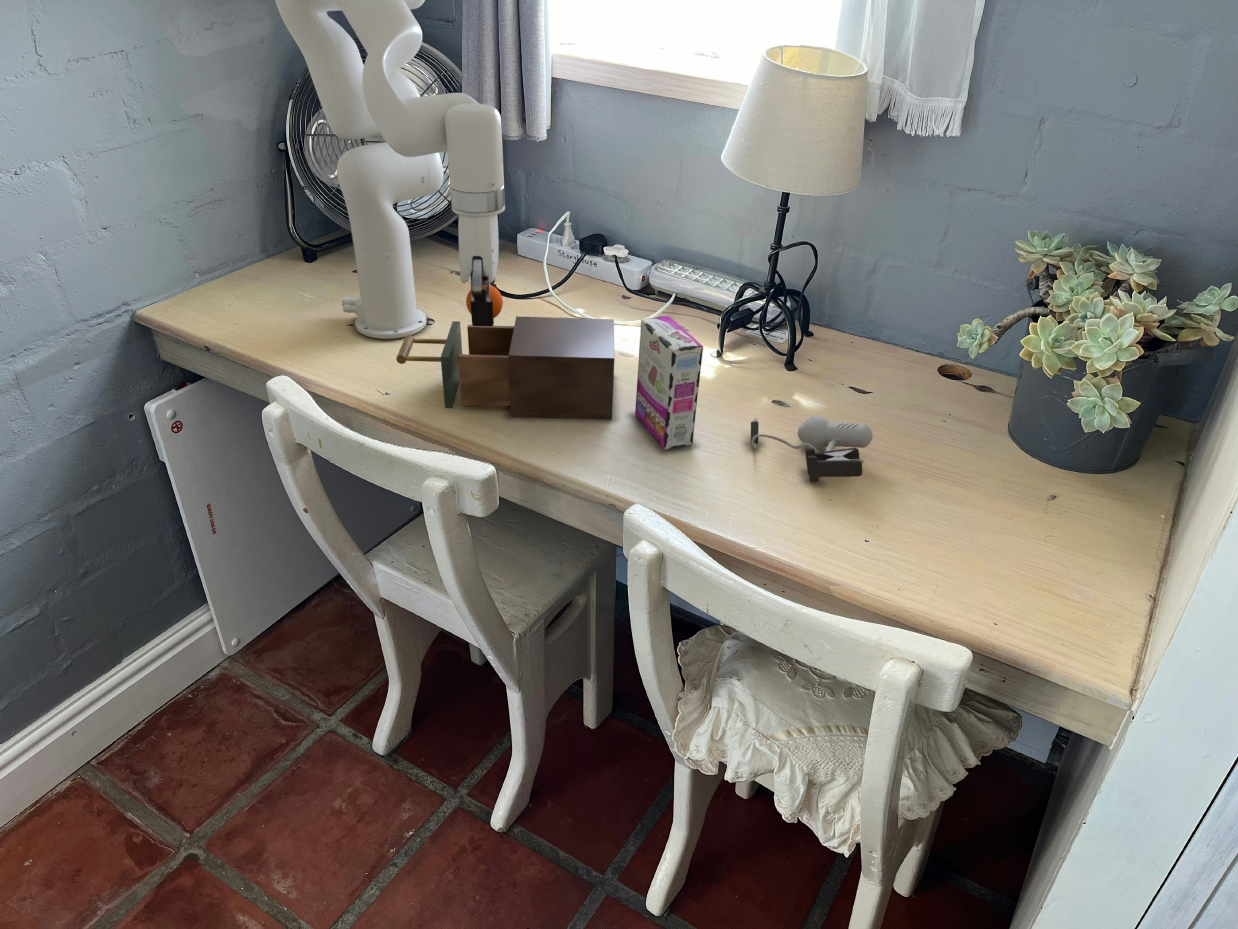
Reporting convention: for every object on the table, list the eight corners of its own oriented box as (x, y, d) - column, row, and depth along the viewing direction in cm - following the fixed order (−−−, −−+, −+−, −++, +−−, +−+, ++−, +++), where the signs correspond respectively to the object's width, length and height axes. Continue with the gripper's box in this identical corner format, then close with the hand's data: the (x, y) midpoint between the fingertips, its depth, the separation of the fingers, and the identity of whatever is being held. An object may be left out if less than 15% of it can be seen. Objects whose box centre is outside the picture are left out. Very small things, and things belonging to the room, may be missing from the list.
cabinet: (510, 417, 134) (508, 355, 128) (517, 374, 145) (516, 316, 139) (612, 419, 135) (614, 358, 129) (611, 377, 146) (613, 319, 140)
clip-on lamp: (736, 478, 128) (861, 489, 120) (731, 442, 125) (858, 451, 117) (759, 433, 136) (877, 441, 128) (755, 399, 133) (876, 404, 125)
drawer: (397, 407, 134) (391, 355, 129) (412, 368, 144) (406, 319, 139) (539, 410, 134) (538, 359, 129) (544, 372, 145) (543, 323, 140)
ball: (498, 328, 131) (496, 293, 128) (462, 324, 132) (460, 290, 129) (507, 313, 136) (506, 279, 133) (473, 310, 136) (471, 276, 133)
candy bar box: (694, 445, 130) (705, 345, 120) (664, 451, 128) (672, 351, 119) (662, 409, 138) (669, 313, 129) (633, 414, 136) (639, 317, 127)
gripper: (459, 180, 131) (467, 294, 141) (442, 217, 116) (453, 341, 126) (509, 181, 131) (513, 295, 141) (499, 218, 117) (505, 341, 127)
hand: (485, 315), depth 134 cm, fingers closed on ball, 5 cm apart
